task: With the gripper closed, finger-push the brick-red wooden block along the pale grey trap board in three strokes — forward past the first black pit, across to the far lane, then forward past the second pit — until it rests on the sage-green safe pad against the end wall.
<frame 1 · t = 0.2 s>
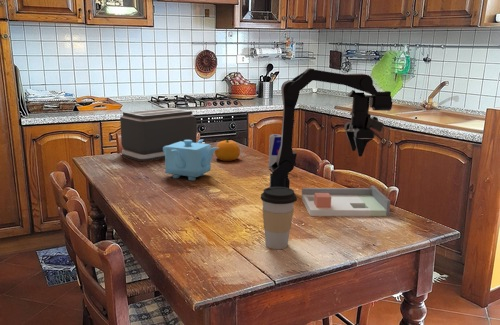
hand: (356, 153, 171), 14 cm above the table, fingers open, 9 cm apart
toaster: (161, 153, 230), on the table
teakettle: (190, 176, 191), on the table
coffee cup: (276, 245, 127), on the table
brick block: (322, 205, 153), point 2 cm above the table, touching trap board
fruit: (227, 159, 221), on the table
beverage can: (274, 169, 205), on the table
trap board: (342, 207, 157), on the table
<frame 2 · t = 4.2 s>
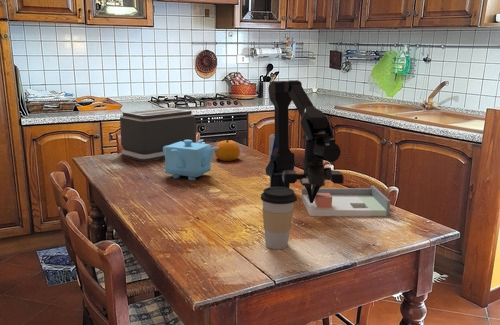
hand: (311, 202, 152), 3 cm above the table, fingers closed
brick block: (323, 205, 153), point 2 cm above the table, touching gripper, trap board
everything else where it was.
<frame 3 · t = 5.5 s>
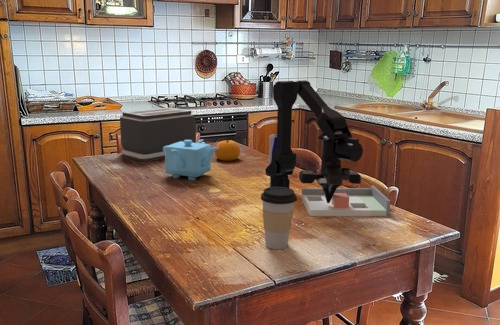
hand: (328, 202, 153), 3 cm above the table, fingers closed
brick block: (339, 205, 153), point 2 cm above the table, touching gripper, trap board
everything else where it was.
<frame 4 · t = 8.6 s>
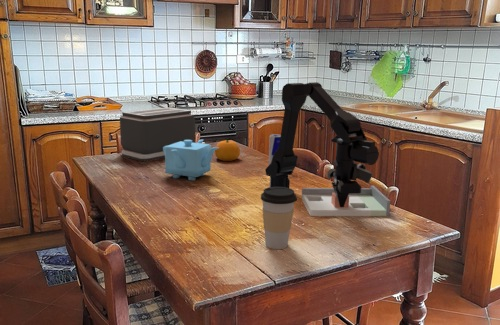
hand: (341, 206, 150), 3 cm above the table, fingers closed
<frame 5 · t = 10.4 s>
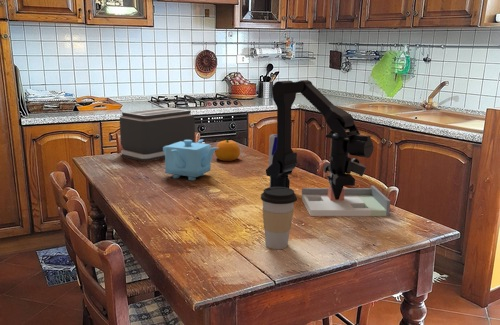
hand: (336, 199, 156), 3 cm above the table, fingers closed
brick block: (335, 198, 160), point 2 cm above the table, touching gripper, trap board
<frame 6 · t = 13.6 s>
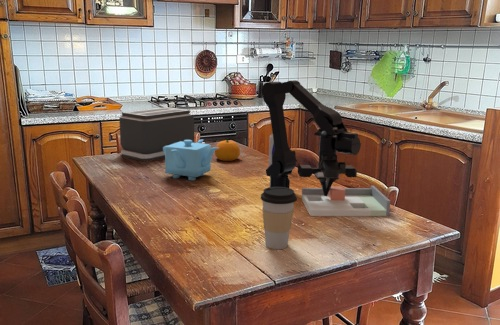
hand: (325, 195, 160), 3 cm above the table, fingers closed
brick block: (336, 198, 160), point 2 cm above the table, touching gripper
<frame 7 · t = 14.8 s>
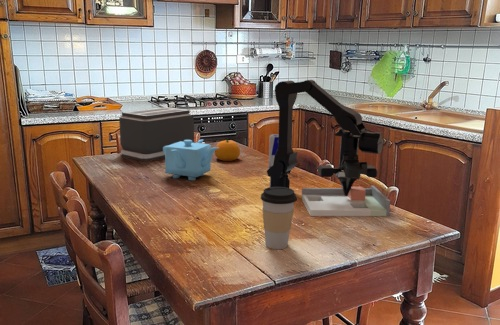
hand: (345, 195, 160), 3 cm above the table, fingers closed
brick block: (356, 198, 161), point 2 cm above the table, touching gripper
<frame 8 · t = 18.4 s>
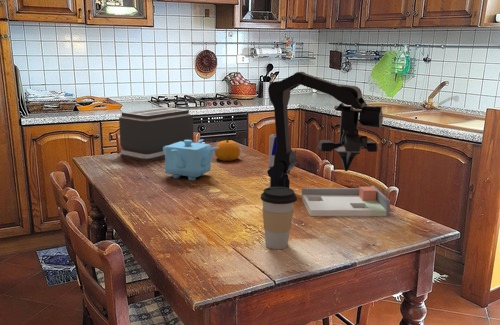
hand: (345, 170, 160), 11 cm above the table, fingers closed
brick block: (367, 198, 161), point 2 cm above the table, touching trap board
at the end: brick block inside the target area on the trap board (3.9 cm from its centre), point 1.9 cm above the trap board's base; brick block tilted 0° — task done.
